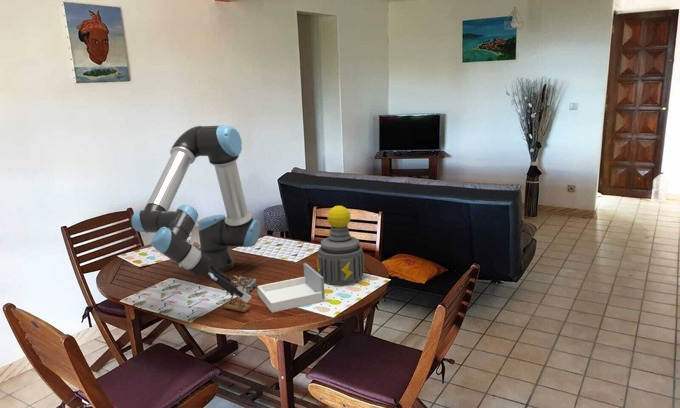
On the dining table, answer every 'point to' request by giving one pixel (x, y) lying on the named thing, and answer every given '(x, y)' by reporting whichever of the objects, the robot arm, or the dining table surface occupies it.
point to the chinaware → (195, 237)
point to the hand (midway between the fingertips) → (246, 296)
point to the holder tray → (293, 291)
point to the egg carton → (247, 283)
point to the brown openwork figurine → (234, 304)
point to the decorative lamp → (340, 251)
